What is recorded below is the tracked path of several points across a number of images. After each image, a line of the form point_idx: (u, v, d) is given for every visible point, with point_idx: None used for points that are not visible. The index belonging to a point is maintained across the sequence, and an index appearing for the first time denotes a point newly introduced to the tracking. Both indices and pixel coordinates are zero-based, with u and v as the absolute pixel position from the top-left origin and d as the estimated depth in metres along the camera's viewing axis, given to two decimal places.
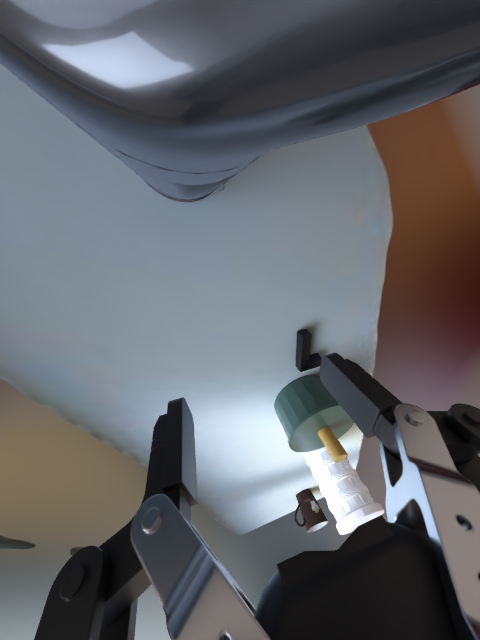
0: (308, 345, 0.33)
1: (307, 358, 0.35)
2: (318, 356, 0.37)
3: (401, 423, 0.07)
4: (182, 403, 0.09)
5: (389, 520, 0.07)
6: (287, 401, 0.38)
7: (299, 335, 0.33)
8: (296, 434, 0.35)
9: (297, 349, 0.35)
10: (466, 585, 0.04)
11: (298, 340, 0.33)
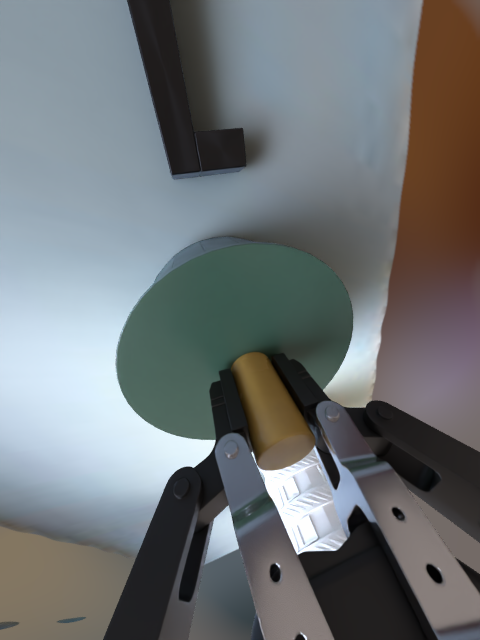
0: None
1: (176, 95, 0.10)
2: None
3: (324, 424, 0.07)
4: (231, 372, 0.10)
5: (342, 525, 0.07)
6: None
7: None
8: (139, 368, 0.10)
9: None
10: (425, 592, 0.04)
11: None
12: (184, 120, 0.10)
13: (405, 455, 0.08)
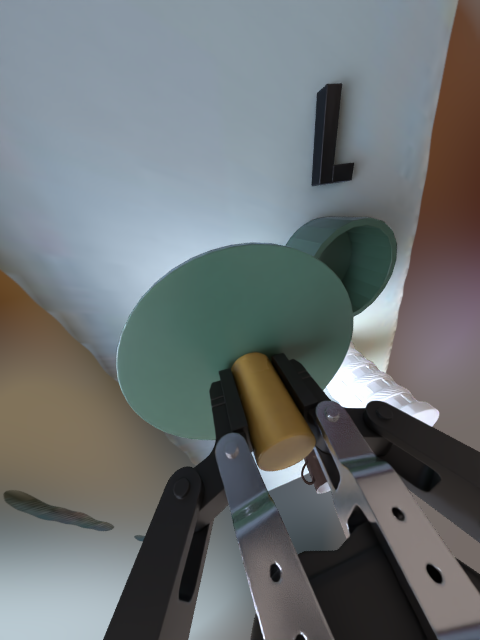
0: (335, 113, 0.21)
1: (331, 150, 0.22)
2: None
3: (324, 424, 0.07)
4: (231, 371, 0.10)
5: (342, 525, 0.07)
6: (298, 241, 0.26)
7: (321, 92, 0.20)
8: (139, 368, 0.10)
9: (316, 138, 0.22)
10: (425, 592, 0.04)
11: (319, 109, 0.21)
12: (331, 160, 0.23)
13: (405, 455, 0.08)
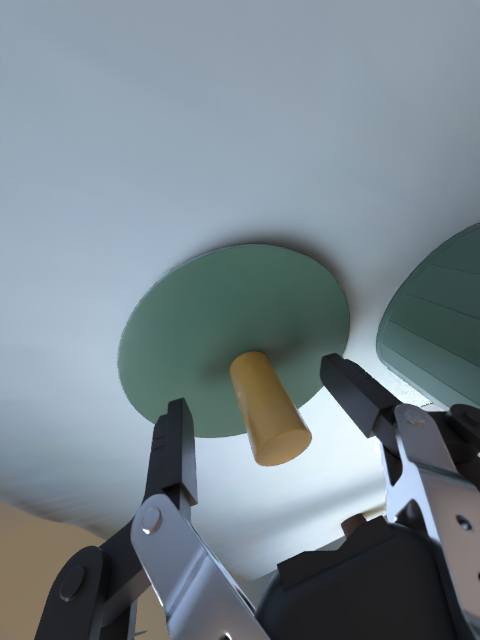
0: None
1: None
2: None
3: (401, 423, 0.07)
4: (182, 403, 0.09)
5: (389, 520, 0.07)
6: (466, 277, 0.11)
7: None
8: (140, 366, 0.10)
9: None
10: (466, 585, 0.04)
11: None
12: None
13: None
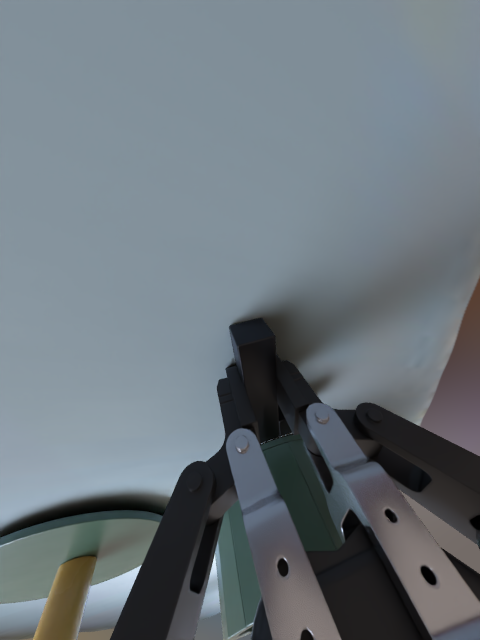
0: (268, 374, 0.09)
1: (270, 411, 0.11)
2: None
3: (315, 428, 0.07)
4: None
5: (337, 528, 0.07)
6: (226, 513, 0.14)
7: (233, 339, 0.09)
8: None
9: None
10: (421, 596, 0.04)
11: (236, 358, 0.10)
12: (273, 419, 0.11)
13: (395, 455, 0.08)
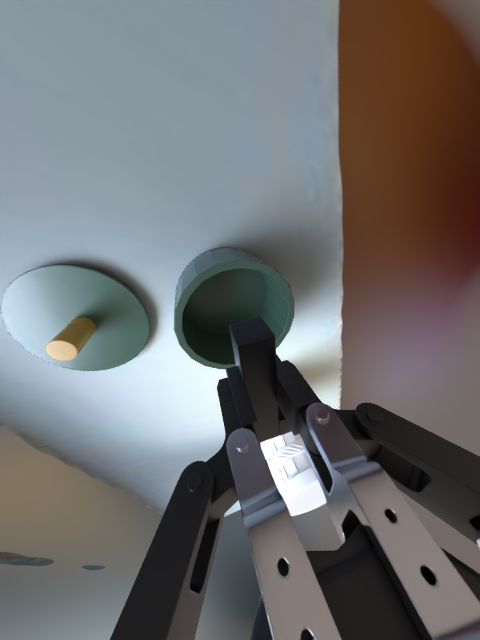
0: (267, 373, 0.09)
1: (269, 410, 0.11)
2: None
3: (315, 428, 0.07)
4: None
5: (337, 528, 0.07)
6: (181, 279, 0.22)
7: (232, 339, 0.09)
8: (15, 321, 0.21)
9: None
10: (421, 596, 0.04)
11: (236, 357, 0.10)
12: (272, 419, 0.11)
13: (395, 455, 0.08)
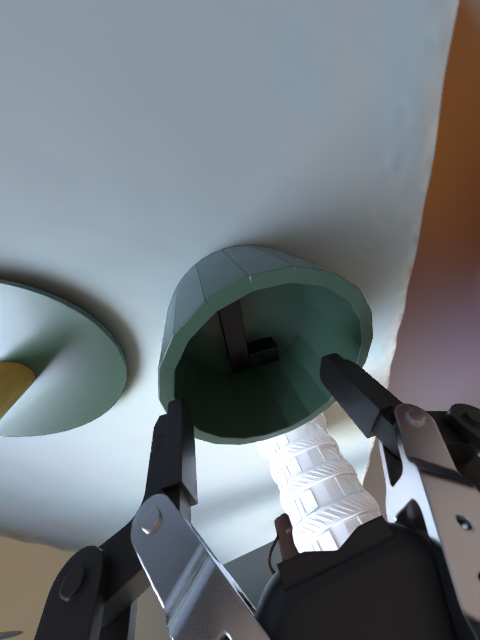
0: (236, 314, 0.15)
1: (241, 344, 0.16)
2: (270, 342, 0.18)
3: (401, 423, 0.07)
4: (182, 403, 0.09)
5: (389, 520, 0.07)
6: (175, 299, 0.13)
7: None
8: None
9: (221, 327, 0.17)
10: (466, 585, 0.04)
11: None
12: (244, 352, 0.17)
13: None
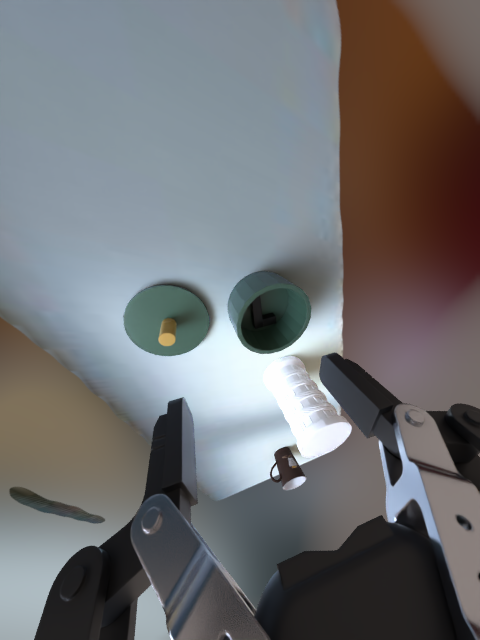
0: (258, 300, 0.35)
1: (259, 314, 0.37)
2: (272, 314, 0.39)
3: (401, 423, 0.07)
4: (182, 403, 0.09)
5: (389, 520, 0.07)
6: (236, 293, 0.33)
7: None
8: (130, 321, 0.32)
9: (250, 306, 0.37)
10: (466, 585, 0.04)
11: None
12: (260, 318, 0.38)
13: None
